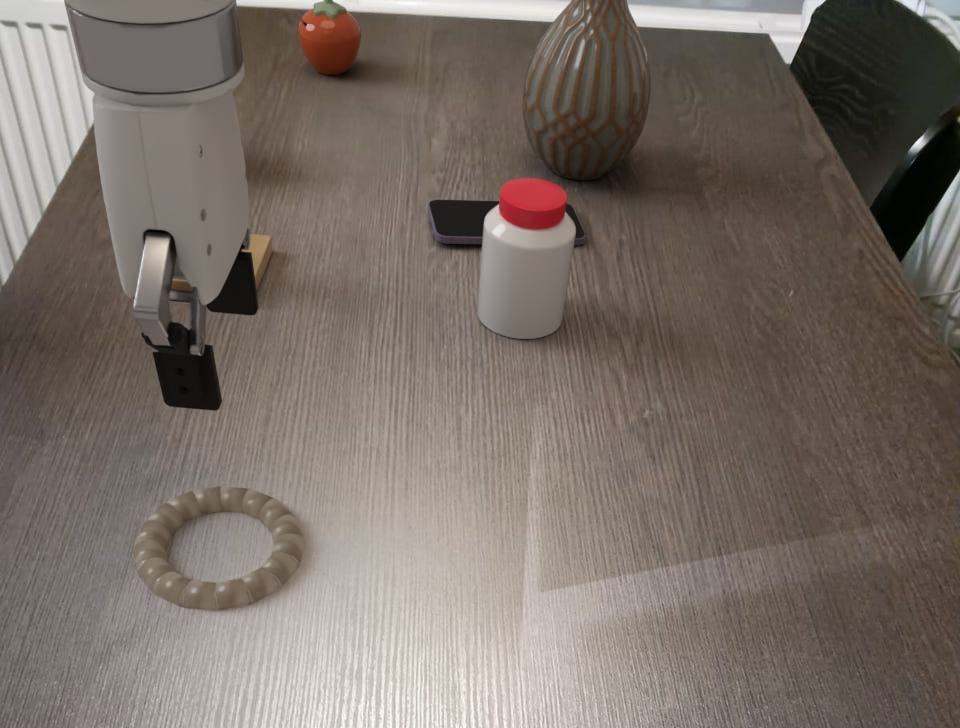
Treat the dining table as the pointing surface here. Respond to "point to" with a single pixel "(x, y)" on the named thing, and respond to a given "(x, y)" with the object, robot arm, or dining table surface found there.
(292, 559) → the ring
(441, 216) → the smartphone
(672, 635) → the dining table surface
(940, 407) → the dining table surface
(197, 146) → the robot arm
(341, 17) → the tomato
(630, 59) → the vase
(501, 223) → the pill bottle
